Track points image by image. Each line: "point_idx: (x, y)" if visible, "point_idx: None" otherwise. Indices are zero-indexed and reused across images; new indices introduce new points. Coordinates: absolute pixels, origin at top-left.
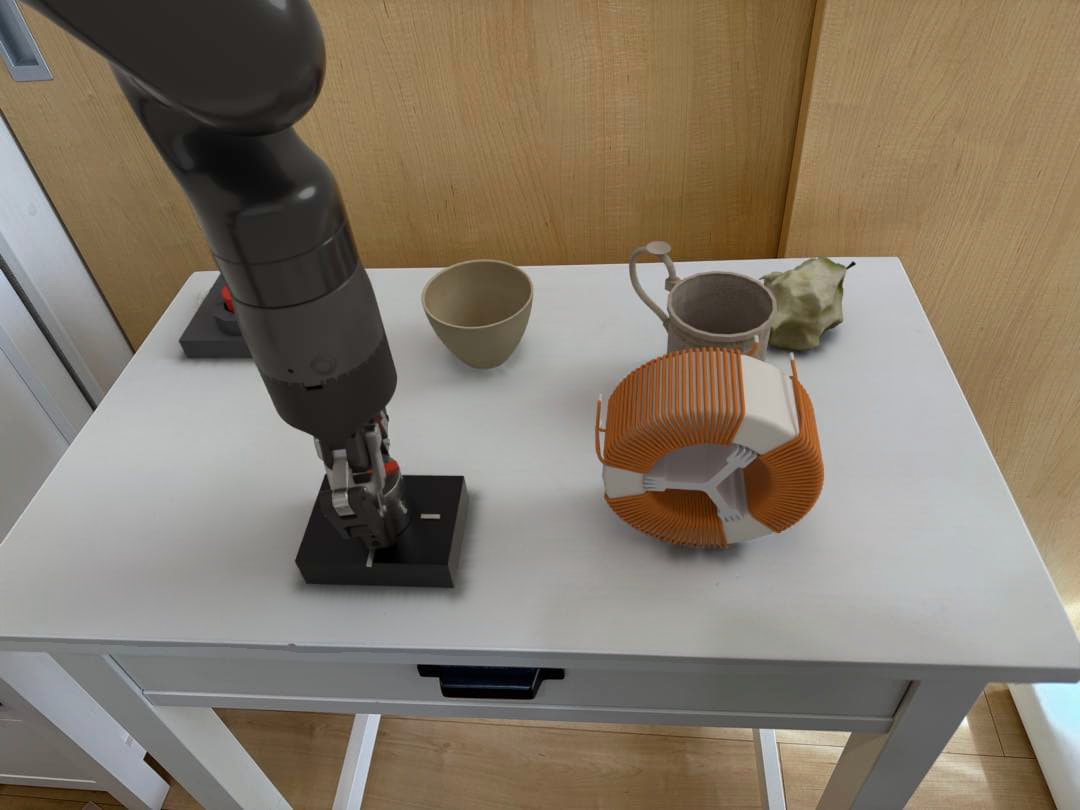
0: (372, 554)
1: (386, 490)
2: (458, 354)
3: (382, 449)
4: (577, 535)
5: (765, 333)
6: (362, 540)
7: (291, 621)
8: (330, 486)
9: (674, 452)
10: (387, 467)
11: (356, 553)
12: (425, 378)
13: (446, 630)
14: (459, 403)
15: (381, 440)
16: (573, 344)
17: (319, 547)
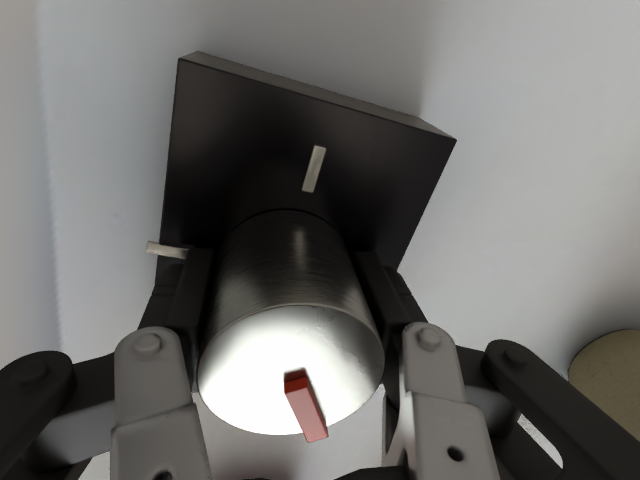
0: (176, 255)
1: (233, 415)
2: (620, 369)
3: (385, 399)
4: (237, 437)
5: None
6: (184, 263)
7: (91, 10)
8: (112, 465)
9: None
10: (306, 426)
11: (189, 218)
12: (616, 281)
13: (82, 304)
14: (529, 325)
15: (382, 462)
16: (544, 440)
17: (219, 129)
